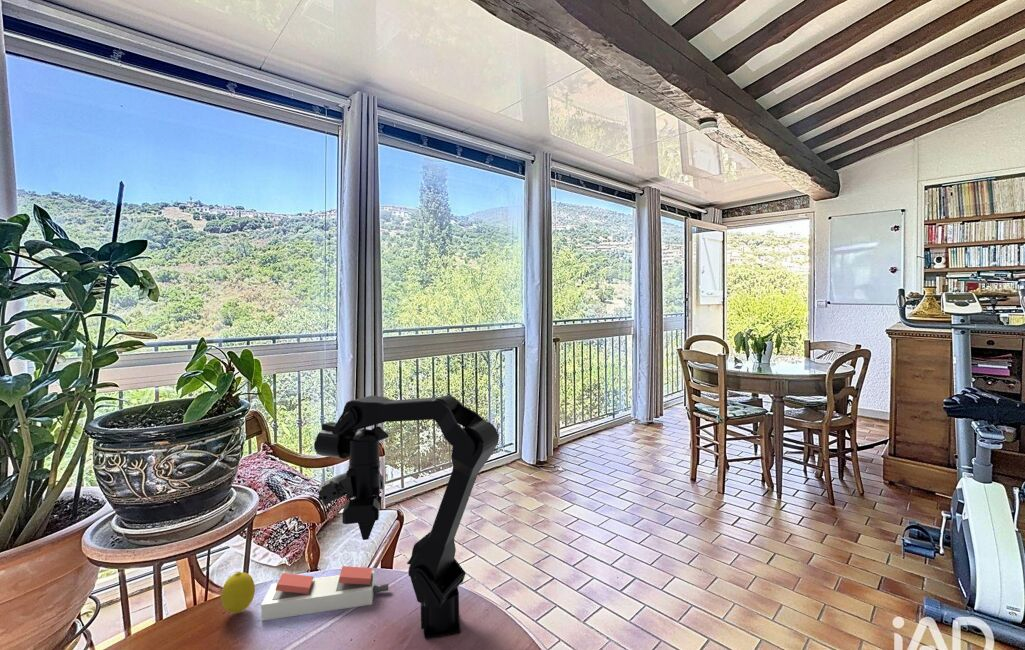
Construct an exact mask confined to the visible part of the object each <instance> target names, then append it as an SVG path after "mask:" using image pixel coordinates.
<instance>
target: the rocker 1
mask: <svg viewBox="0 0 1025 650" xmlns="http://www.w3.org/2000/svg"><path fill="white" fill-rule="evenodd" d="M313 578H314V576H312V575H302V574H295V573H286V572H282V574H281V576H280V577H279V580H278V581H277V582H276V583H277V586H276V591H285V592H295V593H304V594H308V592H309V589H310V587H311V584H312V581H313Z"/></svg>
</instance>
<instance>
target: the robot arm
mask: <svg viewBox="0 0 1025 650" xmlns="http://www.w3.org/2000/svg"><path fill="white" fill-rule="evenodd" d="M432 420H433V421H434V422H436V424H437V425H438V427H439V429H440V431H441V433H442V436H443V438H444V439H445V440H446V441H447V442H448V443H449V444H450V445H451V446H452V448H451V453H450V456H451V463H452V470H451V473H450V477H449V478H448V479H449V480H448V481H447V484H446V487H445V490H444V493H443V497H442V499H441V502H440V505H439V507H438V510H437V512H436V513H437V514H436V515H435V519H434V522H433V525H432V527H431V530H430V531H429V532H428V533H427V534H426V535H424V536H423V537H422V538H421V539H419V540H418V541H417V542H415V543H414V544H413V547H412V552H411V556H410V558H409V560H408V561H406V564H407V565H408V571H407V572H408V577H410V581H411V584H412V588H413V590H414V595H415V597H416V601H417V602H418V603H420V629H421V630H423V638H424V639H426V640H427V639H433V638H440V637H445V636H452V635H458V634H460V633H461V632H462V628H461V621H460V592H459V586H460V585H461V584H463V582H464V580H465V576H466V571H465V570H464V568H462V566H461V565H460V563H458V561H457V560H456V558H455V556H456V552H457V549H456V544H455V538H456V536H457V533H458V530H459V526H460V523H461V521H462V518H463V516H464V513H465V510H466V508H467V505H468V501H469V499H470V497H471V493H472V491H473V488H474V485H475V483H476V480H477V477H478V475H479V472H480V471H481V470H482V468H483V467H484V466H485V464H486V463H487V462H488V460H489V459H490V457H491V456H492V455H493V453H494V451H495V449H496V447H497V445H498V444H499V441H500V434H499V433H498V431H497V428H496V427H495V426H494V424H492V423H491V422H490V421H487V420H485V419H484V418H483V417H482V416H481V415H480V414H478V413H477V412H476V411H474V410H472V409H470V408H469V407H467V406H465V405H463V404H462V403H461V402H460V401H459V400H458V399H457V398H456V397H454V396H452V395H444V396H441V397H440V396H438V397H424V398H409V399H395V400H394V399H390V398H387V397H385V396H378V395H368V396H365V397H360V398H356V399H352V400H349V401H347V402H346V403H345V405H344V407H343V411H342V413H341V415H340V416H339V418H338V420H337V422H333V421H329V422H325V423H322V424H321V430H320V431H319V432H318V434H317V435H316V438H315V441H314V443H313V444H314V445H313V446H314V450H315V453H316V454H317V455H318V456H321V457H329V458H336V459H341V460H344V459H347V458H348V459H349V460H348V469H347V470H346V472H344V473H341V474H339V475H337V476H334V477H332V478H329V479H327V480H324V481H322V482H320V484H319V486H318V488H317V493H318V500H319V501H321V503H322V505H324V506H327V505H328V504H330V503H331V502H333V501H336V500H338V499H340V498H342V497H344V496H346V499H351V500H349V501H348V502H347V503H346V504H345V505H344V507H343V510H342V515H341V516H342V517H341V519H342V524H343V525H352V524H357V525H358V528H359V531H360V532H359V533H360V535H361V538H362V540H363V541H367V540H369V539H370V536H371V535H372V531H373V528H374V526H375V523H376V521H378V520H379V519H380V512H381V506H382V505H381V504H382V499H383V498H382V495H380V491H381V490H384V487H385V486H384V485H385V483H384V481H385V479H384V476H383V474H381V473H380V471H381V470H380V469H381V460H380V441H382V440H385V439H387V438H389V434H388V433H387V432H386V431H385V430H384V429H382V427H381V426H379V424H383V423H387V422H389V423H390V422H407V421H408V422H410V421H411V422H413V421H414V422H415V421H432ZM375 425H378V426H377V427H373V428H371V429H367V428H368V427H372V426H375ZM463 427H464V428H463ZM357 430H358V431H357Z"/></svg>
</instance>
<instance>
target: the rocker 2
mask: <svg viewBox="0 0 1025 650" xmlns="http://www.w3.org/2000/svg"><path fill="white" fill-rule="evenodd" d="M372 571H373V568H371V567H362V566H360V567H359V566H348V565H347V566H346V565H342V567H341V569H340V574H339V575H340V578H339V583H350V584H366V585H369V584H370V579H371V573H372Z"/></svg>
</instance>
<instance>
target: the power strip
mask: <svg viewBox="0 0 1025 650" xmlns="http://www.w3.org/2000/svg"><path fill="white" fill-rule="evenodd" d="M339 578H340V574H337V575H329V576H322V577H315V578H314V577H313V581H312V584H311V587H310V589H309V592H308V594H304V593H295V592H285V591H276V586H277V583H278V582H276V583H275V582H274V583H271V584H270V587H269V588H268V591H267V593H266V595H265V597H264V598H263V600H262V602H261V604H260V608H261V609H260V610H261V620H260V621H262V622H263V621H267V620H276V619H281V618H288V617H294V616H295V617H296V616H303V615H309V614H316V613H323V612H329V611H337V610H344V609H351V608H356V607H357V608H358V607H364V606H370V605H373V599H374V594H375V593H380V592H388V591H389V583H384V584H377V585H375V570H372V573H371V579H370V584H369V585H366V584H350V583H339Z"/></svg>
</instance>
